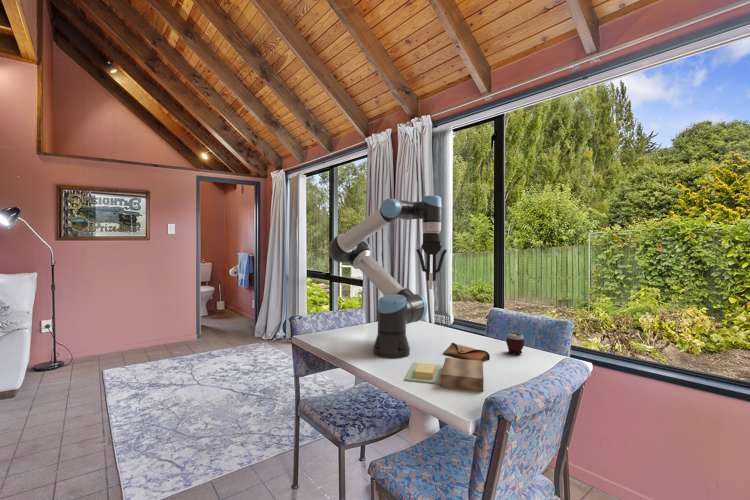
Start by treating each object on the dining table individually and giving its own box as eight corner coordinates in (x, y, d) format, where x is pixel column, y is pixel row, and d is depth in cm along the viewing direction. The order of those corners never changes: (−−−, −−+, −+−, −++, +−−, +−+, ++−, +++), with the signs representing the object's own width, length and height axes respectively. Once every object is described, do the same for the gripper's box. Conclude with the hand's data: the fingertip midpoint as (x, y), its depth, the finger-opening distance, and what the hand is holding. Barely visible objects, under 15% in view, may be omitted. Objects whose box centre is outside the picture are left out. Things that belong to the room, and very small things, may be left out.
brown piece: (440, 386, 119) (440, 374, 119) (445, 368, 137) (445, 357, 137) (483, 391, 116) (483, 378, 116) (482, 372, 133) (482, 360, 133)
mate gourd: (502, 351, 159) (503, 316, 159) (519, 350, 161) (520, 315, 161) (513, 356, 152) (513, 319, 152) (530, 355, 154) (530, 319, 154)
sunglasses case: (439, 353, 154) (444, 338, 157) (448, 359, 159) (452, 344, 161) (479, 364, 142) (484, 347, 144) (486, 370, 146) (491, 353, 148)
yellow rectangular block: (432, 373, 124) (432, 379, 124) (435, 364, 133) (435, 370, 133) (414, 371, 126) (414, 377, 126) (418, 363, 135) (418, 368, 135)
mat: (404, 380, 124) (404, 379, 124) (413, 363, 142) (413, 362, 142) (441, 384, 121) (441, 382, 121) (445, 366, 139) (445, 365, 139)
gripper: (415, 232, 156) (414, 289, 157) (446, 232, 153) (446, 290, 153) (417, 232, 163) (417, 286, 164) (448, 233, 160) (447, 288, 160)
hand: (431, 288), depth 159 cm, fingers closed
